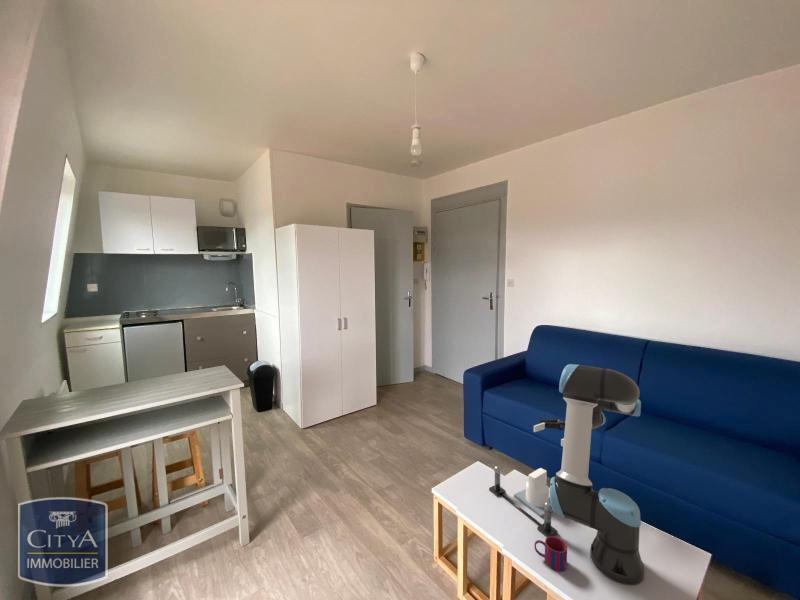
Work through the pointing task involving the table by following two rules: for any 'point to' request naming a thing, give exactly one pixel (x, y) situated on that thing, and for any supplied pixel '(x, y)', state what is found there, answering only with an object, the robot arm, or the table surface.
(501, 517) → the table surface
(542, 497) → the base with upright slab
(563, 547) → the mug
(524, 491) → the slate mat
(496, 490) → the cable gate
